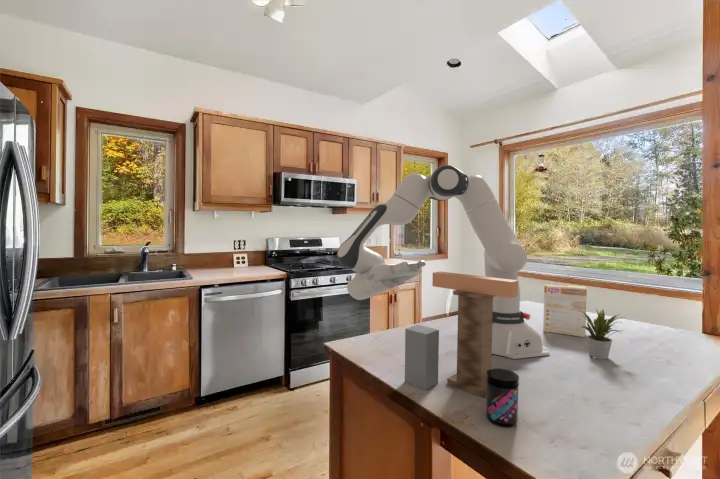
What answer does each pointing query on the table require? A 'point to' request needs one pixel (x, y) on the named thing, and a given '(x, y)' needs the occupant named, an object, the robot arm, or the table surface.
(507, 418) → the supplement container
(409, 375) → the slate pillar
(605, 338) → the house plant
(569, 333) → the coffeecake box
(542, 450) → the table surface
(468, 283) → the terracotta beam
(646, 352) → the table surface
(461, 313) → the walnut tower
